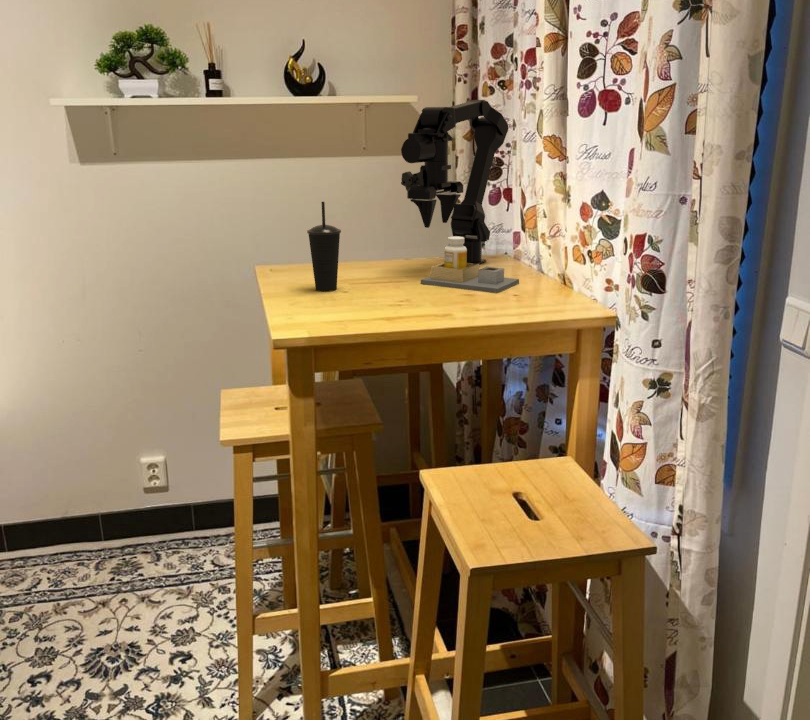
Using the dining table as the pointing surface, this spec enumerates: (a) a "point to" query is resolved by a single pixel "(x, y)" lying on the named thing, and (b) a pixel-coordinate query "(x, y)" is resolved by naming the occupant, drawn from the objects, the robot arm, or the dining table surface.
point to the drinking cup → (324, 254)
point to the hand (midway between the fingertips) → (436, 225)
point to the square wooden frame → (454, 273)
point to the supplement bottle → (455, 253)
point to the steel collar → (491, 275)
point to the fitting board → (473, 284)
